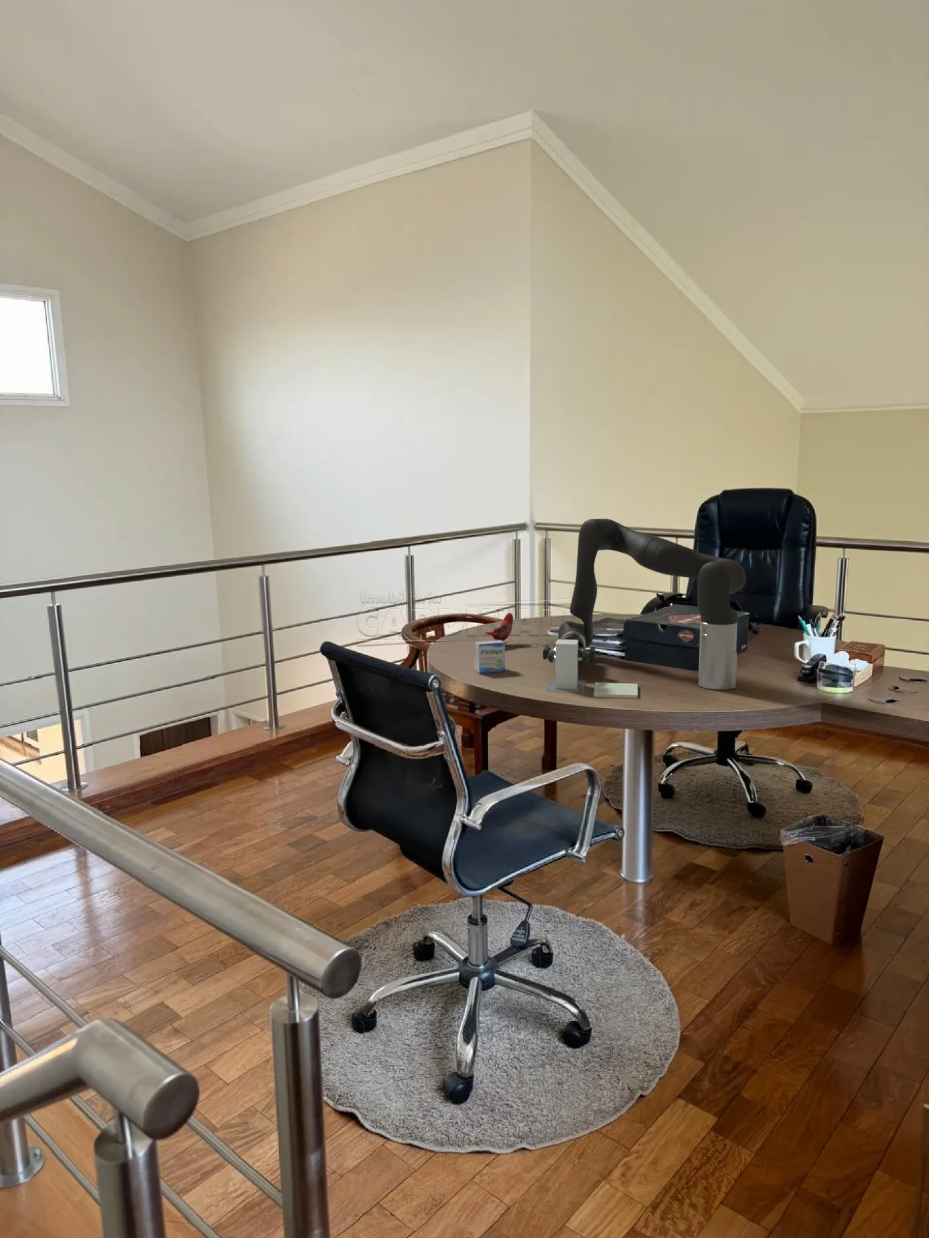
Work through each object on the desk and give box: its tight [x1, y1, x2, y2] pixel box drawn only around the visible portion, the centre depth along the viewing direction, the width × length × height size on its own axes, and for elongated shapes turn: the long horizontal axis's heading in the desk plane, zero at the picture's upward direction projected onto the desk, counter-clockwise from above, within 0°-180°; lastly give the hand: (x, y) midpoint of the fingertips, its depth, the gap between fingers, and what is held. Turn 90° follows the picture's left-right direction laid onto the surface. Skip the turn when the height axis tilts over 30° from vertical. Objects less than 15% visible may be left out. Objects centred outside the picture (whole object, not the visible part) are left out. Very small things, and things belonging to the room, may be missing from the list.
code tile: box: [545, 679, 588, 694], centre depth 231 cm, size 10×12×1 cm
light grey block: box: [555, 638, 579, 689], centre depth 230 cm, size 6×6×12 cm
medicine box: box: [473, 639, 506, 675], centre depth 248 cm, size 8×4×9 cm, turn 105°
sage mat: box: [593, 682, 639, 699], centre depth 225 cm, size 11×11×1 cm
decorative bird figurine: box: [484, 612, 514, 645], centre depth 279 cm, size 3×18×10 cm, turn 147°
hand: (567, 659), depth 232 cm, fingers open, 8 cm apart
